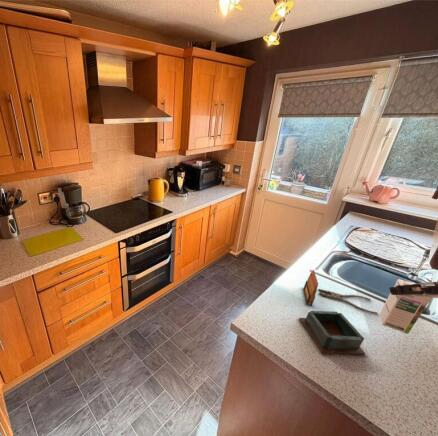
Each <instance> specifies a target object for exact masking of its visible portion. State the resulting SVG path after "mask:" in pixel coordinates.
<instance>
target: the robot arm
mask: <svg viewBox="0 0 438 436" xmlns="http://www.w3.org/2000/svg"><path fill="white" fill-rule="evenodd" d="M388 289H389V293H391V294H392V295H405V296H408V295H415V296H417V297H432V299H433V298H434V299H438V281H427V282H422V283H421V282H420V283H419V282H417V283H414V284H412V285H398V286H396V287H394V286H390V287H389V288H388ZM423 294H427V295H423Z"/></svg>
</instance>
